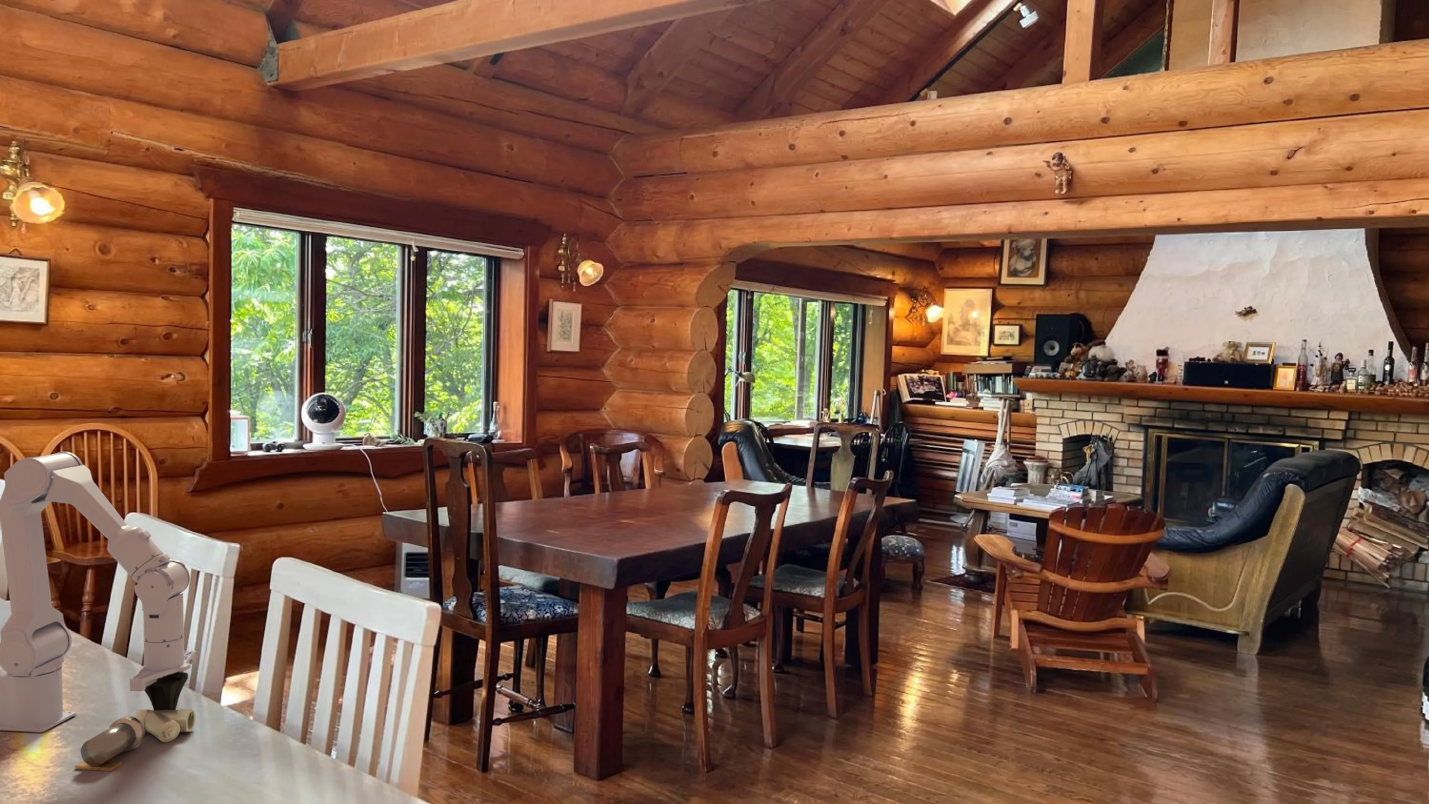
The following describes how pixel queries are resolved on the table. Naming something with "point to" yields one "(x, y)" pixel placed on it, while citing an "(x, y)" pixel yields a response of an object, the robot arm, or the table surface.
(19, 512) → the robot arm
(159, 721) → the pipe fitting
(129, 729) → the pipe stub
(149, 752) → the table surface
